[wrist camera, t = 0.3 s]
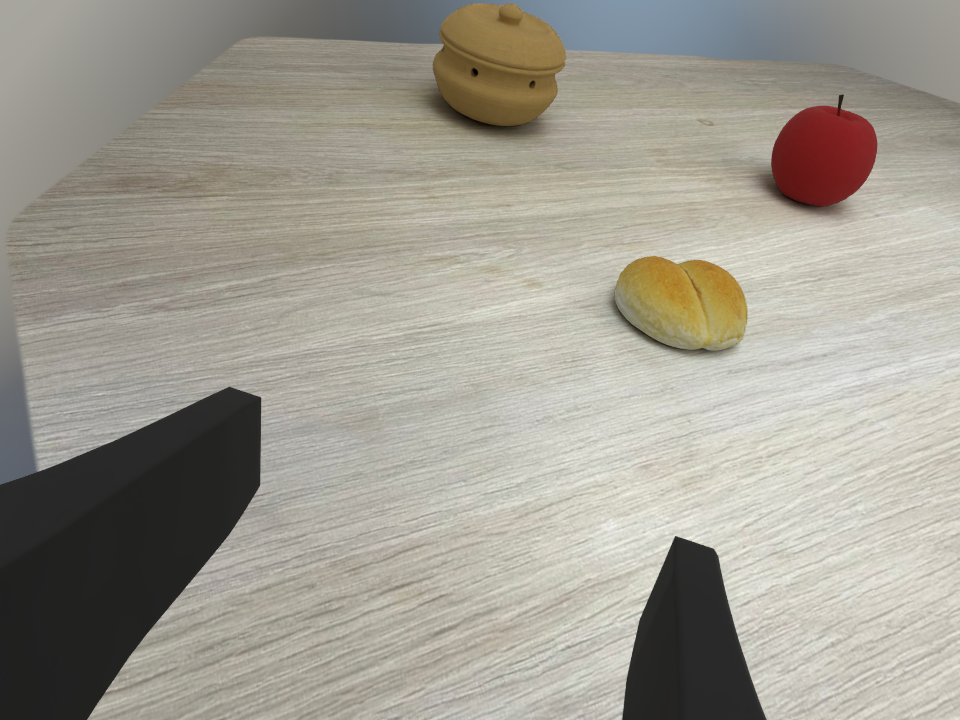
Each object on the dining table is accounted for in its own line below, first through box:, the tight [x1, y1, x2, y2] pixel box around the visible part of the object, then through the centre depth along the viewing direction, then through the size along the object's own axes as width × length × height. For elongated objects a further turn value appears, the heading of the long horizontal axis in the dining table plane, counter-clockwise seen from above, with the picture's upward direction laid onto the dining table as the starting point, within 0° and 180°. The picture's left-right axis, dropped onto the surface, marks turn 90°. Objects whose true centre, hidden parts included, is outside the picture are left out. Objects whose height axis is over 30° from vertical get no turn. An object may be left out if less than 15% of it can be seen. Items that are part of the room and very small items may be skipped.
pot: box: [433, 4, 566, 126], centre depth 74 cm, size 12×12×10 cm
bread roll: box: [615, 256, 747, 351], centre depth 54 cm, size 8×9×4 cm
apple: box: [771, 95, 877, 207], centre depth 76 cm, size 9×9×10 cm
